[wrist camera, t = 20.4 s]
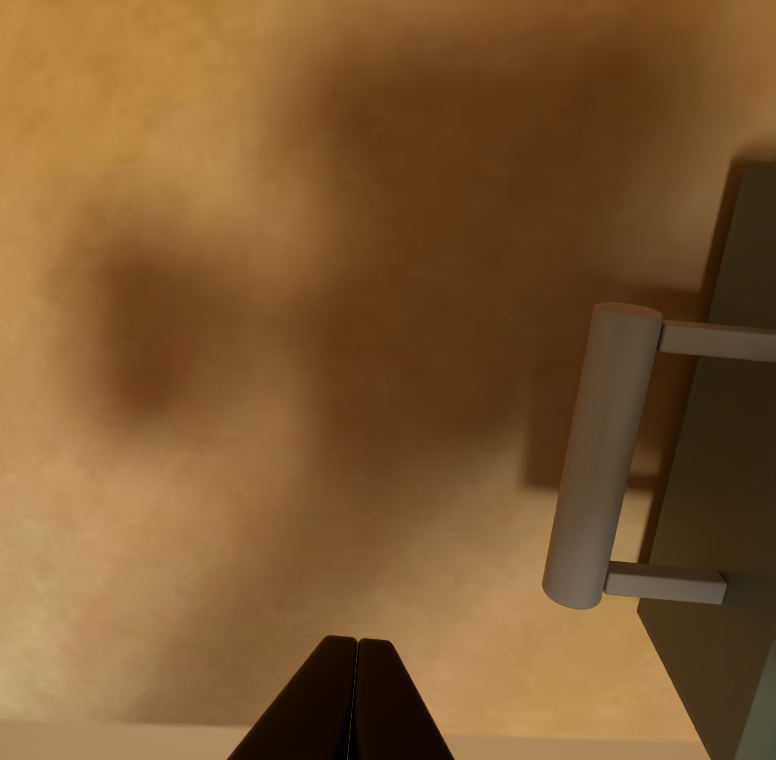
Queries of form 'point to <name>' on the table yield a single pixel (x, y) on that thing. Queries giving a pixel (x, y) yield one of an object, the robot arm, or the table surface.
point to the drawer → (690, 488)
